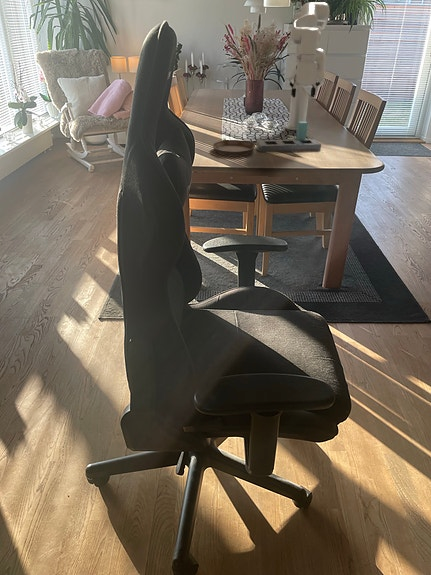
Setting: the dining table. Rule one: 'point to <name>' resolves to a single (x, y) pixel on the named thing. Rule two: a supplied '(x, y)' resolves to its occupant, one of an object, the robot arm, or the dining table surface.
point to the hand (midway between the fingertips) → (302, 96)
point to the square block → (301, 130)
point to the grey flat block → (288, 145)
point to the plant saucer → (233, 147)
